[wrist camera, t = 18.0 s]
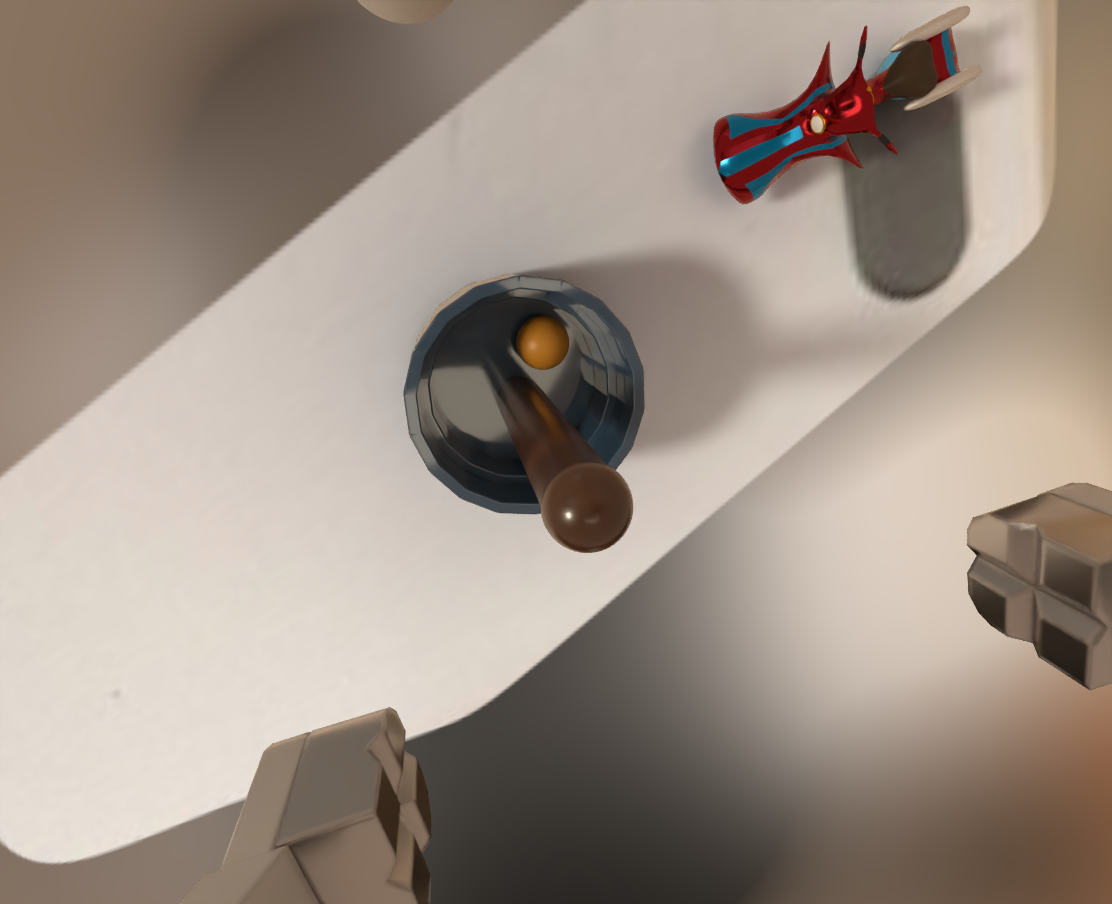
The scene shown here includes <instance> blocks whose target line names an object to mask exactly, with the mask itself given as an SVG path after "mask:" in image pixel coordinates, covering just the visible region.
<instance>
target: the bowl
mask: <svg viewBox="0 0 1112 904" xmlns="http://www.w3.org/2000/svg"><path fill="white" fill-rule="evenodd" d="M537 316H549V317H552V318H554V319H556V320H558V321H559V322H560V323H561V324H562V325H563V326H564V327H565V329H566V330H567V333H568V336H569V350H568V353H567V355H566V357H565V359H564V360H563V361H562V362H561V363H560V364H559V365H557V366H556V367H554V368H551V369H547V370H539V369H535V368H532V367H530V366H528V365H527V364H526V363H525V362H524V361H523V360H522V359H521V357H520V356H519V354H518V351H517V346H516V339H517V334H518V332H519V330H520V328H521V327H522V325H523V324H524V323H525V322H526V321H528V320H529V319H531V318H533V317H537ZM515 377H526V378H529V379H531V380H533V381H534V382H535V383H536V384H537V385H538V386H539V387H540V388H541V389H542V390H543V392H544V393H545V394H546V395H547V396H548V397H549V399H550V400H551V401H552V402H553V403H554V404H555V405H556V407H557V408H558V409H559V410H560V411H561V412H562V414H563V415H564V416H565V417H566V418H567V419H568V421H569V422H570V423H571V424H572V425H573V426H574V427H575V429H576V430H577V431H578V432H579V433H580V434H581V436H582V437H583V438H584V439H585V440H586V441H587V443H588V444H589V445H590V446H591V447H592V448H593V449H594V451H595V452H596V453H597V454H598V455H599V456H600V458H601V459H602V460H603V461H604V462H605V463H606V465H608V466H610V467H612V468H613V469H614V470H616V469H617V468H618V466H619V465H620V464H621V462H622V461H623V460H624V458H625V457H626V456H627V454H628V453H629V452H630V450H631V449H632V448H631V447H633V444H634V441H635V438H636V435H637V431H638V428H639V425H640V422H641V419H642V416H643V413H644V371H643V366H642V364H641V361H640V359H639V356H638V353H637V351H636V348H635V346H634V343H633V340H632V338H631V335H630V333H629V331H628V330H627V328H626V327H625V326H624V325H623V324H622V323H621V322H620V321H619V319H618V318H617V317H616V316H615V315H614V314H613V313H612V312H611V310H610V309H609V308H608V307H607V306H606V305H605V304H604V303H603V301H601V300H600V299H599V298H597V297H595V296H593V295H591V294H589V293H587V292H585V291H583V290H581V289H579V288H578V287H576V286H574V285H572V284H570V283H568V282H566V281H564V280H561V279H552V278H543V277H534V276H525V275H501V276H498V277H494V278H490V279H486V280H482V281H478V282H474V283H471V284H470V285H469V284H468V285H467V286H465V287H464V288H463V289H461V290H460V291H458V292H457V293H456V294H454V295H453V296H451V297H450V298H449V299H447V300H446V301H444V302H443V303H442V304H440V305H439V307H437V309H436V310H435V312H434V313H433V315H432V316H431V318H430V319H429V321H428V322H427V324H426V325H425V327H424V328H423V330H422V331H421V333H420V334H419V336H418V338H417V341H416V343H415V346H414V349H413V352H412V356H411V361H410V365H409V369H408V374H407V378H406V383H405V387H404V394H403V395H404V402H405V409H406V416H407V423H408V430H409V435H410V438H411V440H412V441H413V443H414V445H415V447H416V449H417V450H418V452H419V454H420V456H421V458H422V459H423V461H424V463H425V465H426V467H427V468H428V470H429V471H430V473H431V474H432V475H434V476H435V477H436V478H437V479H438V480H439V481H440V482H442V483H443V484H444V485H445V486H446V487H447V488H449V489H450V490H451V491H452V492H453V493H454V494H456V495H457V496H458V497H459V498H461V499H463V500H465V501H468V502H470V503H473V504H476V505H478V506H481V507H484V508H486V509H489V510H491V511H494V512H497V513H498V512H499V513H513V514H541V506H540V503H539V501H538V499H537V496H536V494H535V492H534V489H533V487H532V485H531V482H530V480H529V478H528V475H527V473H526V471H525V468H524V466H523V464H522V461H521V459H520V457H519V454H518V452H517V450H516V447H515V445H514V443H513V440H512V438H511V436H510V433H509V431H508V429H507V426H506V424H505V422H504V419H503V417H502V415H501V412H500V410H499V407H498V404H497V396H498V392H499V390H500V388H501V386H502V385H503V384H504V383H505V382H506V381H508V380H509V379H512V378H515Z"/></svg>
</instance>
